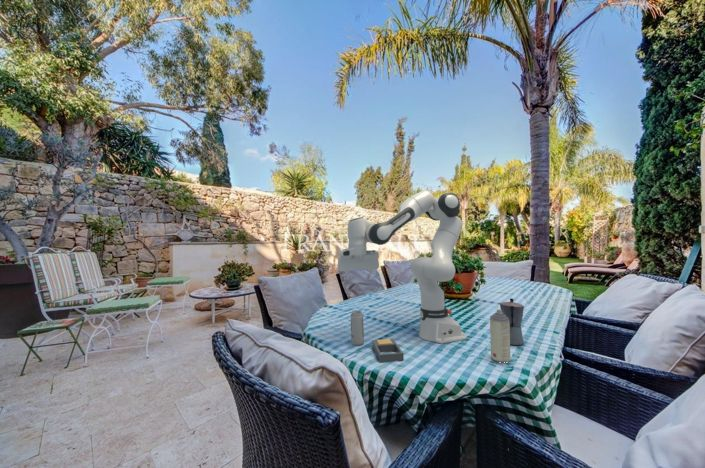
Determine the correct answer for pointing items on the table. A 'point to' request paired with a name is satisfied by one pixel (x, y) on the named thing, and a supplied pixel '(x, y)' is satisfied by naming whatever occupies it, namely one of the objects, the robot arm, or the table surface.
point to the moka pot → (514, 320)
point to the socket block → (387, 350)
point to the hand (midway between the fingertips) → (359, 279)
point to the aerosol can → (500, 337)
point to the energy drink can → (357, 328)
